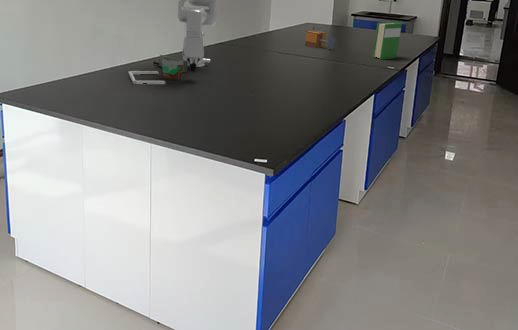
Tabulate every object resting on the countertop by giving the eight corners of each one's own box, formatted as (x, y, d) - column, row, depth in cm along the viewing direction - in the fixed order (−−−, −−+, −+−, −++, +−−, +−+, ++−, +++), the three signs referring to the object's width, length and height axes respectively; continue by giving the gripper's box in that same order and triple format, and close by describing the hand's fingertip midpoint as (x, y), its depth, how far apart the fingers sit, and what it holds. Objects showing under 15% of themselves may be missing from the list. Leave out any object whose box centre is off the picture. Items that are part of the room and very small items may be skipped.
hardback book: (380, 59, 391) (386, 24, 383) (372, 57, 396) (377, 22, 388) (396, 58, 402) (401, 23, 394) (387, 56, 407) (393, 22, 399)
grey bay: (158, 74, 297) (158, 71, 296) (165, 84, 277) (165, 81, 277) (128, 73, 292) (128, 71, 291) (133, 84, 272) (133, 81, 272)
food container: (155, 77, 288) (156, 58, 285) (163, 76, 293) (163, 56, 290) (175, 82, 283) (176, 62, 280) (182, 80, 288) (183, 60, 285)
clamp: (326, 50, 410) (328, 30, 405) (304, 45, 423) (306, 26, 418) (334, 49, 417) (337, 29, 412) (313, 45, 430) (316, 25, 425)
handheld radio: (183, 73, 304) (151, 65, 318) (188, 73, 307) (155, 64, 320) (184, 61, 302) (151, 53, 315) (188, 60, 304) (156, 52, 318)
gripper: (206, 34, 290) (205, 70, 296) (177, 33, 285) (176, 69, 291) (210, 36, 283) (208, 72, 289) (180, 35, 278) (179, 72, 284)
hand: (192, 71), depth 290 cm, fingers closed
